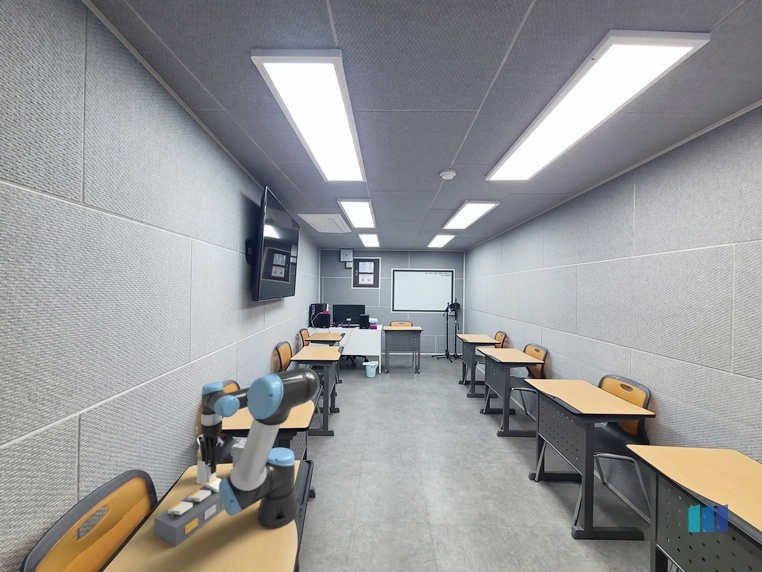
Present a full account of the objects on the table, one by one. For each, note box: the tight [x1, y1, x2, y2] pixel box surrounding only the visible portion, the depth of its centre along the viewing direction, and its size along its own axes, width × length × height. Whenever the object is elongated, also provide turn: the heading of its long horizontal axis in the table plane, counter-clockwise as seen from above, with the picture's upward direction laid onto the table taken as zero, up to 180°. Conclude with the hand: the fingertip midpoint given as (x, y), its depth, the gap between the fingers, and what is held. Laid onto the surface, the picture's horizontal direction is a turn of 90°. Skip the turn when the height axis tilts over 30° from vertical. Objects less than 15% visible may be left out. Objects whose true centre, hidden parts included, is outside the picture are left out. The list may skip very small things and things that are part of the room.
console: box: [153, 477, 225, 547], centre depth 110 cm, size 12×24×8 cm, turn 157°
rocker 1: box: [167, 501, 193, 515], centre depth 104 cm, size 7×4×1 cm, turn 67°
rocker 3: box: [204, 476, 222, 493], centre depth 117 cm, size 7×4×1 cm, turn 67°
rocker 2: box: [186, 489, 211, 502], centre depth 110 cm, size 7×4×1 cm, turn 67°
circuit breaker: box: [230, 438, 247, 472], centre depth 134 cm, size 8×14×15 cm, turn 78°
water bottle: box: [195, 426, 206, 485], centre depth 132 cm, size 8×9×25 cm
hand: (210, 479), depth 118 cm, fingers closed
